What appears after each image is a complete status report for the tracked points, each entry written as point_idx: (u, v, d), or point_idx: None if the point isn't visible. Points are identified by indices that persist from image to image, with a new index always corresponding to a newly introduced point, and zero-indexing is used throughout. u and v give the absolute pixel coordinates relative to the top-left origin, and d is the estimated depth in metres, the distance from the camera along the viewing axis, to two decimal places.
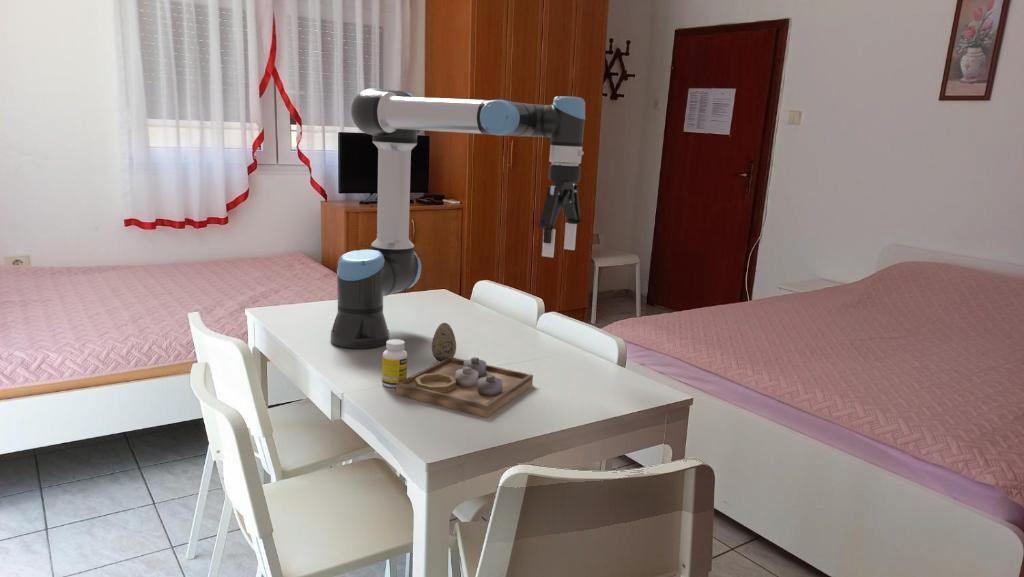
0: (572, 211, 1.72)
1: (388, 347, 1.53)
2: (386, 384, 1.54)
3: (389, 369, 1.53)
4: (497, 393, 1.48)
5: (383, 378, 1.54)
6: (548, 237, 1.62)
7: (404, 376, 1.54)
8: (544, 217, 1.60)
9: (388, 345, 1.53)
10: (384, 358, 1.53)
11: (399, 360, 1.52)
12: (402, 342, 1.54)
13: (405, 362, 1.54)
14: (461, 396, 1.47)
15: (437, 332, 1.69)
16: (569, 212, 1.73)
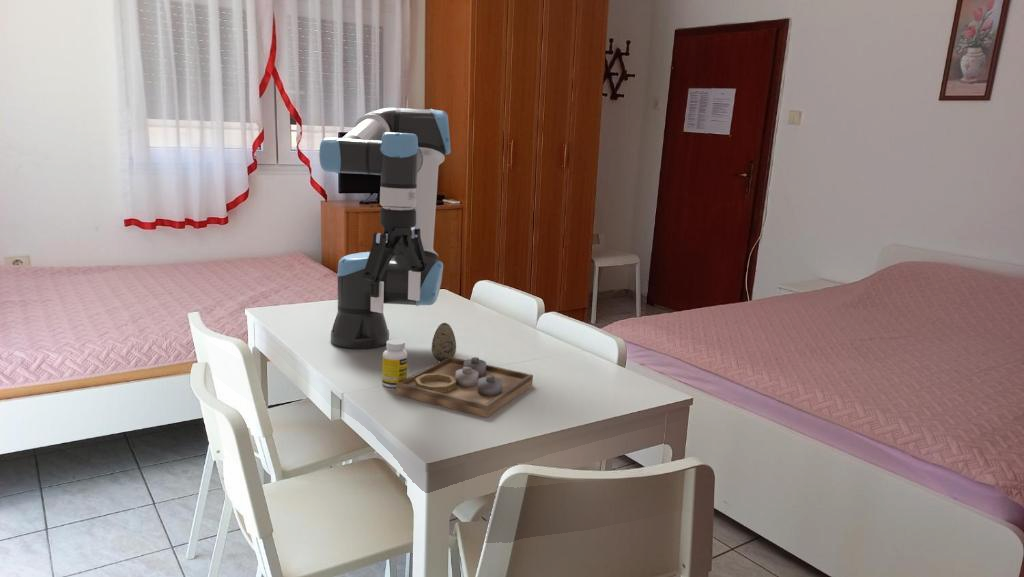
0: (413, 258, 1.54)
1: (388, 347, 1.53)
2: (386, 384, 1.54)
3: (389, 369, 1.53)
4: (497, 393, 1.48)
5: (383, 378, 1.54)
6: (374, 291, 1.43)
7: (404, 376, 1.54)
8: (368, 269, 1.42)
9: (388, 345, 1.53)
10: (384, 358, 1.53)
11: (399, 360, 1.52)
12: (402, 342, 1.54)
13: (405, 362, 1.54)
14: (461, 396, 1.47)
15: (437, 332, 1.69)
16: (410, 259, 1.54)
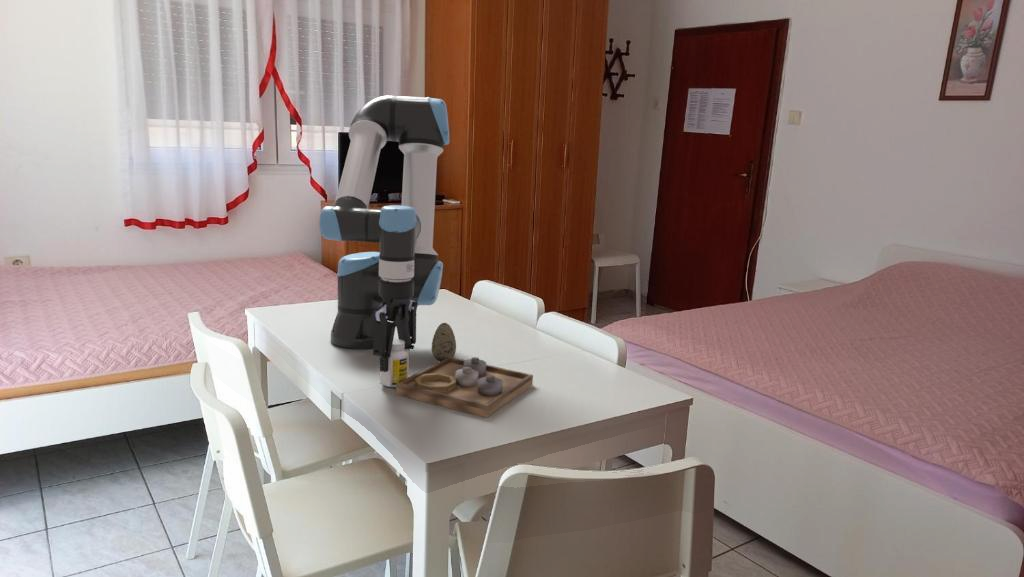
0: (405, 331, 1.55)
1: None
2: None
3: None
4: (497, 393, 1.48)
5: None
6: (384, 366, 1.51)
7: (404, 376, 1.54)
8: (376, 347, 1.48)
9: None
10: None
11: (399, 360, 1.52)
12: (402, 342, 1.54)
13: (405, 362, 1.54)
14: (461, 396, 1.47)
15: (437, 332, 1.69)
16: (402, 333, 1.56)
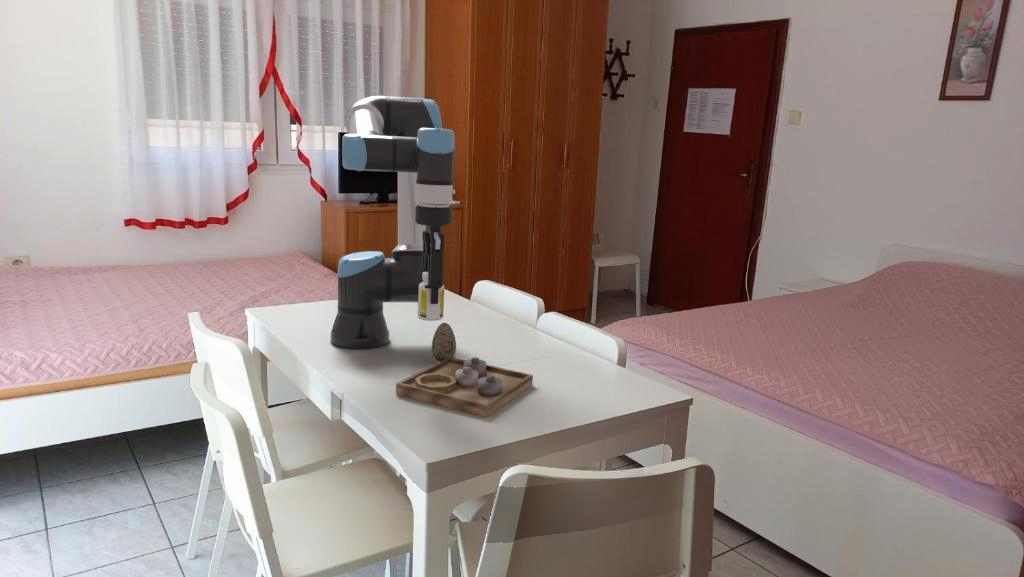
0: None
1: None
2: None
3: None
4: (497, 393, 1.48)
5: None
6: (437, 297, 1.44)
7: None
8: (434, 277, 1.41)
9: None
10: None
11: (443, 290, 1.47)
12: None
13: None
14: (461, 396, 1.47)
15: (437, 332, 1.69)
16: None
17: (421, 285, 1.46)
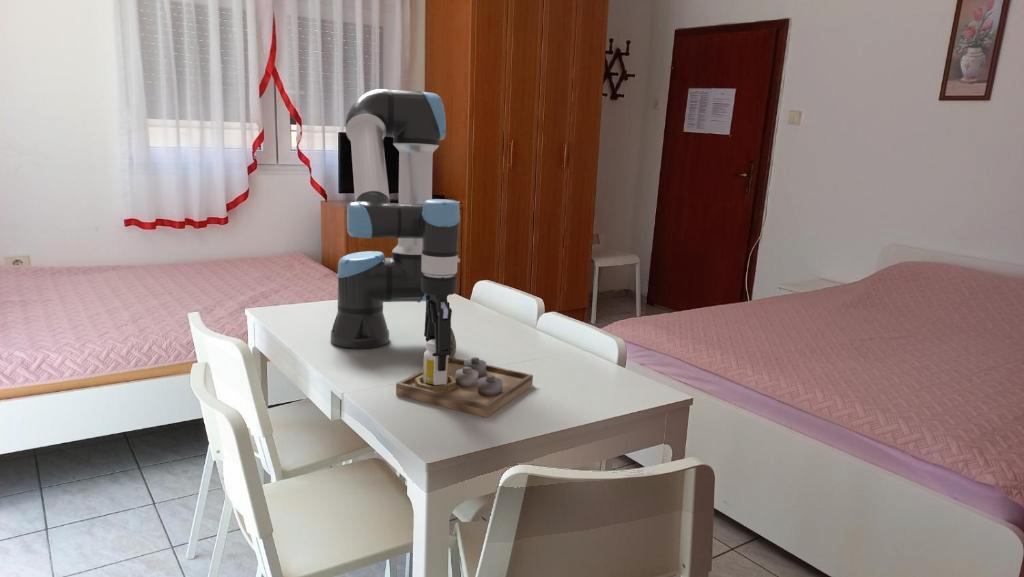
0: None
1: None
2: None
3: None
4: (497, 393, 1.48)
5: (432, 381, 1.50)
6: (444, 364, 1.46)
7: None
8: (443, 346, 1.43)
9: None
10: (433, 360, 1.49)
11: (448, 358, 1.51)
12: None
13: None
14: (461, 396, 1.47)
15: None
16: (434, 328, 1.53)
17: (427, 354, 1.49)
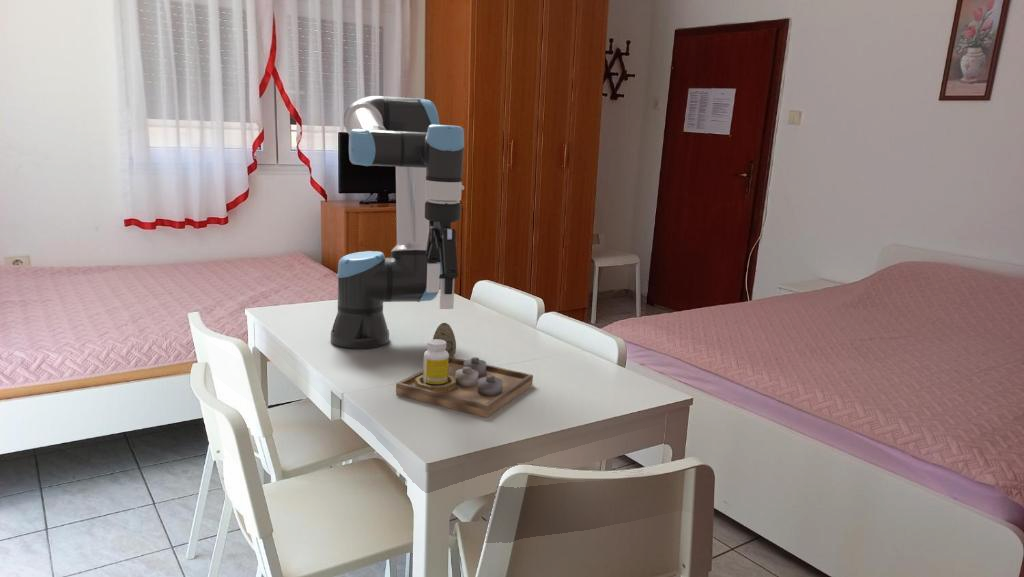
0: None
1: (436, 348, 1.49)
2: None
3: (441, 370, 1.49)
4: (497, 393, 1.48)
5: (432, 381, 1.50)
6: (451, 287, 1.42)
7: None
8: (449, 266, 1.40)
9: (436, 346, 1.49)
10: (433, 360, 1.49)
11: (448, 358, 1.51)
12: (443, 340, 1.51)
13: None
14: (461, 396, 1.47)
15: (437, 332, 1.69)
16: (436, 252, 1.53)
17: (427, 354, 1.49)
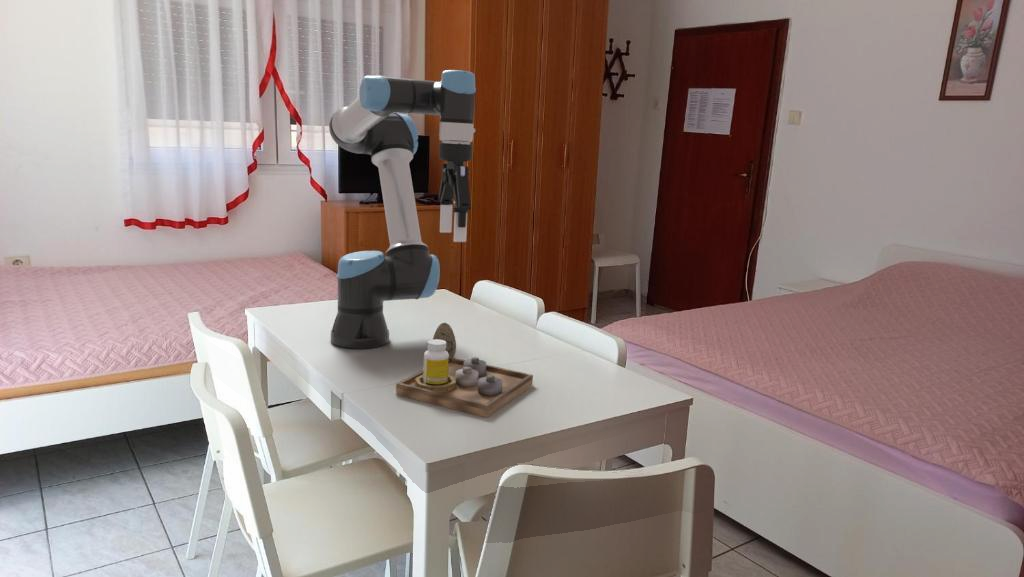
0: (452, 192, 1.64)
1: (436, 348, 1.49)
2: None
3: (441, 370, 1.49)
4: (497, 393, 1.48)
5: (432, 381, 1.50)
6: (464, 221, 1.53)
7: None
8: (463, 200, 1.51)
9: (436, 346, 1.49)
10: (433, 360, 1.49)
11: (448, 358, 1.51)
12: (443, 340, 1.51)
13: None
14: (461, 396, 1.47)
15: (437, 332, 1.69)
16: (448, 193, 1.64)
17: (427, 354, 1.49)
